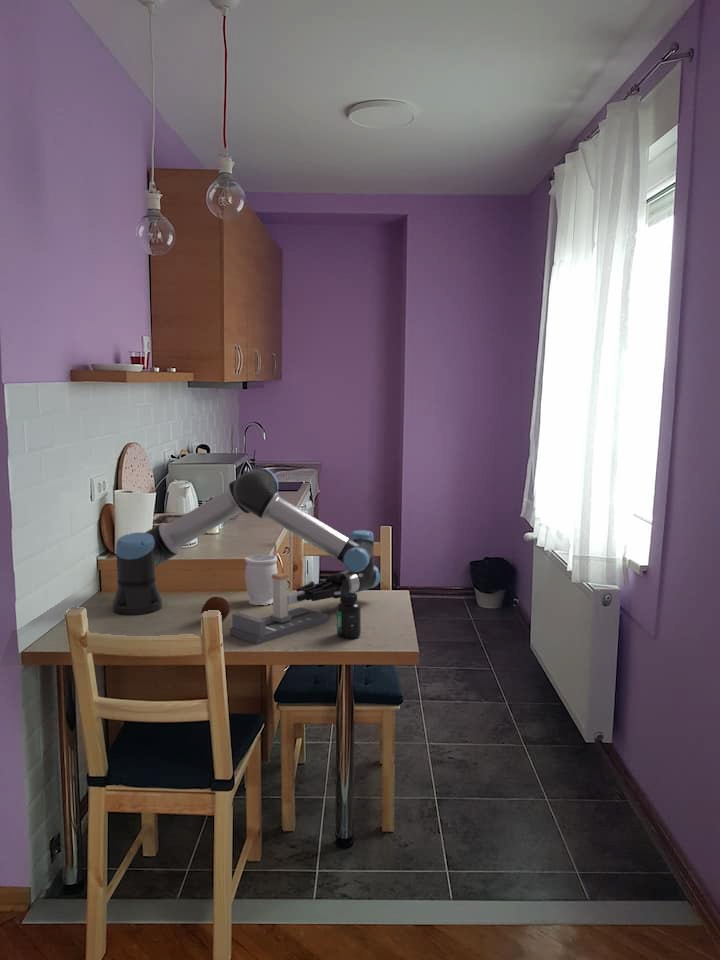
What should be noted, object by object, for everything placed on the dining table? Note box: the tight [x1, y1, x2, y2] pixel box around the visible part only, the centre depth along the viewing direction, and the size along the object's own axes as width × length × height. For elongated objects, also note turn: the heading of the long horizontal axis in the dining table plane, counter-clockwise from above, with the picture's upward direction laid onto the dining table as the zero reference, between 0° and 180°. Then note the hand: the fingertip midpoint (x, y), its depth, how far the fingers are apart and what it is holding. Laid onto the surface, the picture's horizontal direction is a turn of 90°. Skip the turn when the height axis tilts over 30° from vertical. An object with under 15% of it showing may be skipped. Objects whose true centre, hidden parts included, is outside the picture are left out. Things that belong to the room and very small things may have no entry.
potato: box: [200, 596, 231, 621], centre depth 235 cm, size 8×12×8 cm, turn 166°
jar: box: [244, 554, 279, 606], centre depth 255 cm, size 11×10×15 cm
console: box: [229, 607, 329, 645], centre depth 229 cm, size 28×12×6 cm, turn 138°
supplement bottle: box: [336, 593, 362, 640], centre depth 222 cm, size 7×7×12 cm
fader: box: [269, 572, 291, 623], centre depth 229 cm, size 4×5×14 cm
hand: (287, 599), depth 230 cm, fingers closed
